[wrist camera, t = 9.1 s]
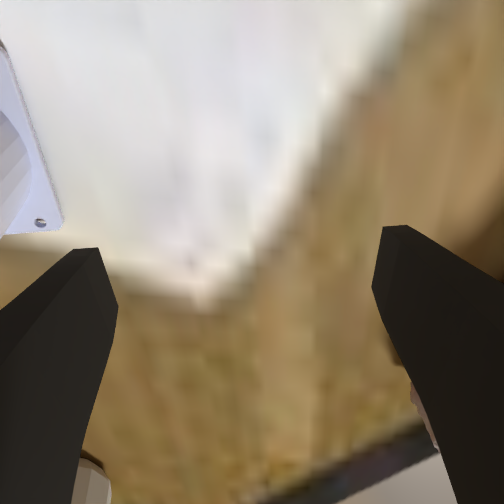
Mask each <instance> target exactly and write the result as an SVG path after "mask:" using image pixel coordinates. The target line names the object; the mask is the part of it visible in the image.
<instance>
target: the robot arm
mask: <svg viewBox="0 0 504 504" xmlns="http://www.w3.org/2000/svg"><path fill="white" fill-rule="evenodd" d="M38 218H40V219H43V220H45V222H46V223H45V224H44V223H40V222H38V220H37V219H38ZM63 223H64V216H63V213H62V210H61V207H60V204H59V201H58V198H57V195H56V192H55V190H54V187H53V184H52V181H51V178H50V175H49V172H48V169H47V166H46V163H45V160H44V157H43V154H42V152H41V149H40V146H39V143H38V140H37V137H36V134H35V131H34V128H33V125H32V122H31V119H30V116H29V114H28V111H27V108H26V105H25V102H24V99H23V96H22V93H21V90H20V87H19V84H18V81H17V78H16V76H15V73H14V70H13V67H12V64H11V61H10V58H9V56H8V54H7V52H6V51H5V50H4V49H3V48H2V47H1V46H0V239H1V238H2V236H3V235H5V234H18V233H31V232H44V231H56V230H59V229H60V228H62V226H63ZM372 291H373V294H374V297H375V300H376V304H377V307H378V310H379V313H380V316H381V319H382V321H383V323H384V326H385V328H386V330H387V332H388V334H389V336H390V338H391V340H392V342H393V344H394V347H395V349H396V351H397V353H398V355H399V357H400V359H401V361H402V363H403V365H404V367H405V369H406V371H407V373H408V375H409V377H410V379H411V381H412V383H413V385H414V388H415V390H416V392H417V394H418V396H419V398H420V400H421V403H422V405H423V407H424V410H425V412H426V414H427V417H428V420H429V422H430V425H431V428H432V431H433V433H434V436H435V439H436V442H437V444H438V447H439V450H440V452H441V455H442V458H443V461H444V464H445V467H446V470H447V473H448V476H449V479H450V482H451V485H452V488H453V491H454V494H455V496H456V500H457V503H458V504H504V284H503V283H501V282H500V281H498V280H496V279H494V278H493V277H491V276H489V275H488V274H486V273H484V272H483V271H481V270H479V269H478V268H476V267H474V266H473V265H471V264H469V263H468V262H466V261H465V260H463V259H461V258H460V257H458V256H457V255H455V254H453V253H452V252H450V251H449V250H447V249H446V248H444V247H442V246H441V245H439V244H438V243H436V242H435V241H433V240H431V239H430V238H428V237H427V236H425V235H423V234H422V233H420V232H418V231H417V230H415V229H413V228H411V227H409V226H408V225H399V226H385V227H383V229H382V234H381V239H380V245H379V250H378V255H377V260H376V266H375V271H374V276H373V281H372ZM117 313H118V304H117V301H116V298H115V295H114V292H113V289H112V286H111V284H110V281H109V278H108V275H107V272H106V269H105V266H104V263H103V260H102V257H101V254H100V252H99V249H98V247H97V248H83V249H73V250H72V251H70V252H69V253H68V254H66V255H65V256H64V257H63V258H62V259H60V260H59V261H58V262H57V263H56V264H54V265H53V266H52V267H51V268H50V269H49V270H47V271H46V272H45V273H44V274H43V275H42V276H40V277H39V278H38V279H37V280H36V281H35V282H33V283H32V284H31V285H30V286H29V287H28V288H26V289H25V290H24V291H23V292H22V293H21V294H19V295H18V296H17V297H16V298H15V299H14V300H12V301H11V302H10V303H9V304H8V305H6V306H5V307H4V308H2V309H1V310H0V504H71V501H72V496H73V490H74V484H75V479H76V474H77V469H78V464H79V459H80V454H81V449H82V445H83V440H84V437H85V433H86V429H87V425H88V422H89V419H90V415H91V412H92V409H93V406H94V402H95V399H96V396H97V393H98V390H99V386H100V383H101V380H102V377H103V373H104V370H105V367H106V364H107V360H108V357H109V354H110V350H111V347H112V343H113V338H114V333H115V327H116V320H117Z"/></svg>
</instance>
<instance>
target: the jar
mask: <svg viewBox="0 0 504 504" xmlns="http://www.w3.org/2000/svg"><path fill="white" fill-rule="evenodd" d="M110 502H111V486H110V480H109V479H108V477H107V476H106V474H105V473H104V471H103V470H102V469H101V468H100V467H98V466H97V465H95V464H94V463H92V462H91V461H89V460H88V459H84V458H80V459H79V464H78V469H77V474H76V479H75V484H74V490H73V496H72V501H71V504H110Z"/></svg>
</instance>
